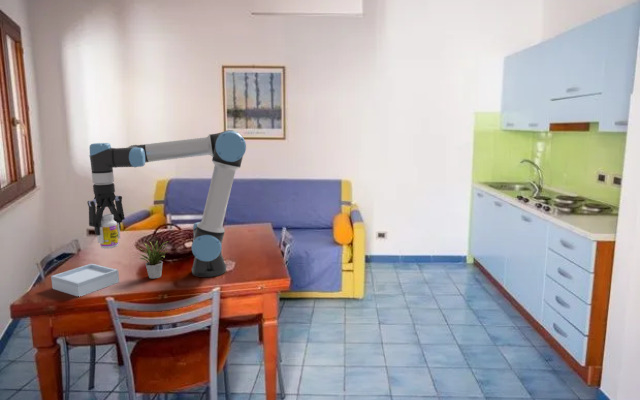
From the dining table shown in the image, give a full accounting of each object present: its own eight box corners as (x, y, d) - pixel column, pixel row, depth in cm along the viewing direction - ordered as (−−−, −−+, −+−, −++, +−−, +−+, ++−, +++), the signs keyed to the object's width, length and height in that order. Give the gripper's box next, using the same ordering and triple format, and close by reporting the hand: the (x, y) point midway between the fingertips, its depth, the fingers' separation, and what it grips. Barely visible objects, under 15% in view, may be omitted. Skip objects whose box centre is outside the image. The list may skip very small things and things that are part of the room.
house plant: (181, 272, 205) (178, 237, 202) (164, 283, 192) (161, 245, 189) (152, 269, 208) (150, 235, 205) (134, 280, 195) (131, 243, 192)
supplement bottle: (111, 249, 177) (108, 217, 175) (96, 248, 178) (93, 216, 176) (122, 244, 184) (119, 213, 181) (107, 243, 185) (104, 213, 182)
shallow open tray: (119, 282, 194) (118, 269, 193) (79, 296, 178) (77, 283, 177) (92, 275, 202) (91, 263, 201) (52, 288, 187) (50, 276, 186)
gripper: (119, 179, 186) (124, 233, 191) (73, 186, 170) (80, 245, 174) (131, 180, 183) (136, 235, 187) (86, 187, 166) (92, 248, 170)
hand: (109, 240), depth 180 cm, fingers closed on supplement bottle, 7 cm apart
